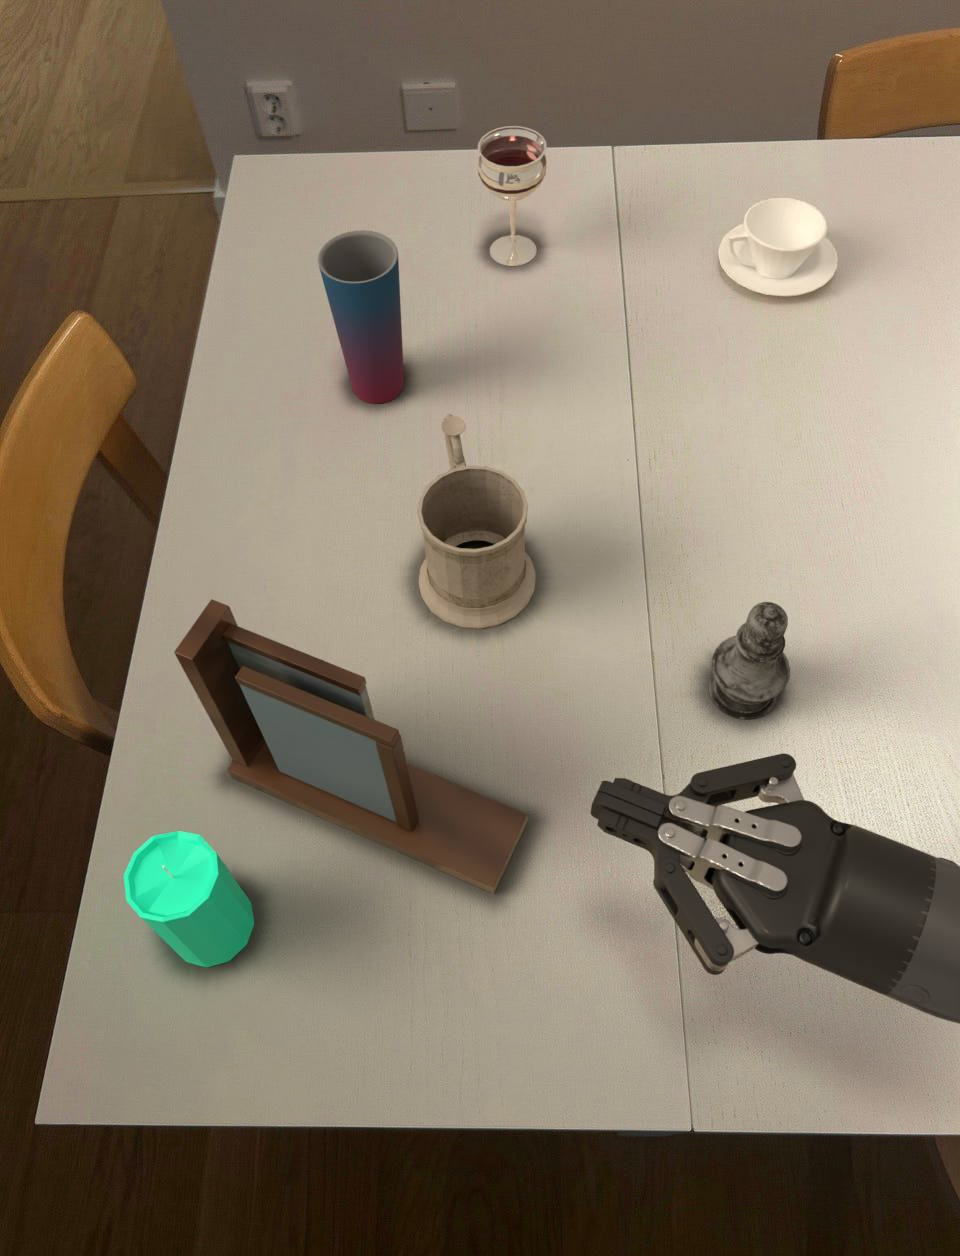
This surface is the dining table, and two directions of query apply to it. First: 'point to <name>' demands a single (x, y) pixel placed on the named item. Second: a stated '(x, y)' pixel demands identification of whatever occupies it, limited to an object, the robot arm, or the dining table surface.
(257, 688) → the glass door
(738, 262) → the teacup
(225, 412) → the dining table surface
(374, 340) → the cup
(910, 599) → the dining table surface
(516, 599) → the mug
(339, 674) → the screen frame
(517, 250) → the wineglass
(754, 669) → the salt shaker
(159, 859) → the candle
